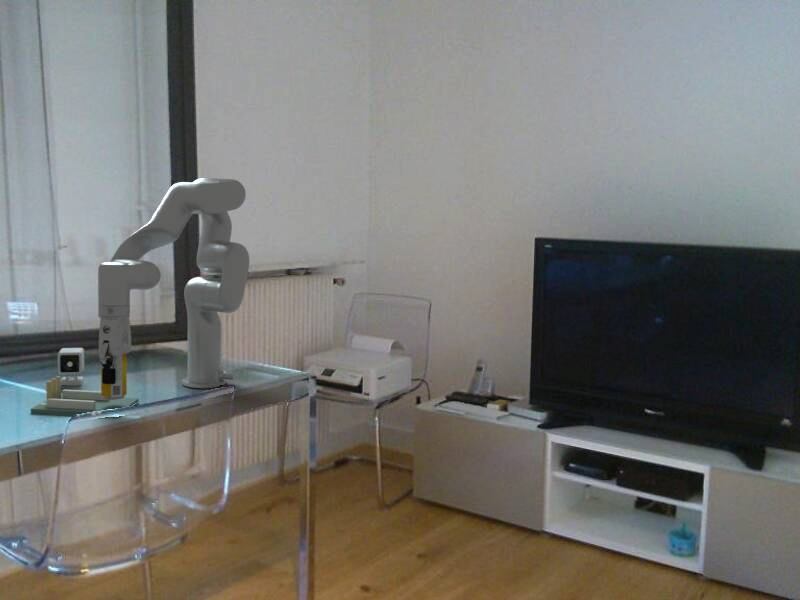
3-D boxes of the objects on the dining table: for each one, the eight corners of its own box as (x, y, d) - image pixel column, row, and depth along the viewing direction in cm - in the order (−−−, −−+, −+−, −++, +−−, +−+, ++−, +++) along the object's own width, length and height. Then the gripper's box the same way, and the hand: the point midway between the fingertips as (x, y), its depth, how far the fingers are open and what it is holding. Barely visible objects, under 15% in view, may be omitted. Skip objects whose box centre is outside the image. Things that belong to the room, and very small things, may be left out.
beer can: (121, 393, 206) (121, 336, 204) (130, 398, 201) (130, 340, 199) (97, 395, 202) (97, 338, 200) (106, 401, 197) (106, 343, 195)
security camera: (58, 387, 220) (57, 352, 219) (61, 381, 227) (60, 347, 226) (82, 386, 222) (81, 352, 221) (84, 380, 229) (84, 347, 227)
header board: (138, 402, 209) (138, 376, 208) (117, 418, 195) (117, 390, 194) (57, 398, 210) (56, 372, 209) (30, 413, 196) (30, 385, 195)
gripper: (115, 317, 190) (115, 389, 192) (141, 307, 207) (141, 373, 209) (84, 315, 190) (85, 388, 192) (113, 305, 207) (113, 372, 209)
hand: (114, 379), depth 201 cm, fingers closed on beer can, 6 cm apart
